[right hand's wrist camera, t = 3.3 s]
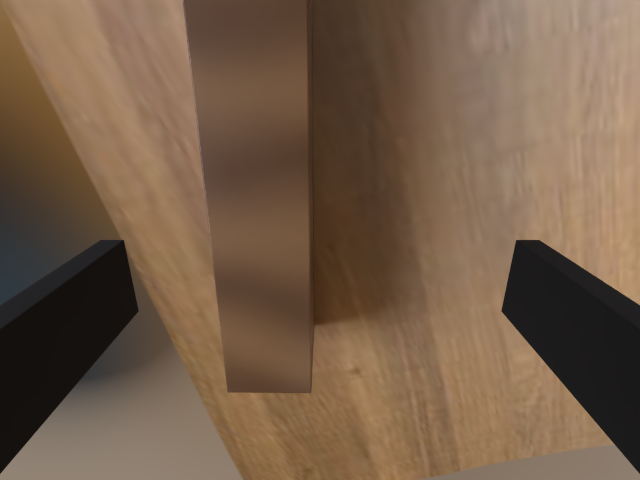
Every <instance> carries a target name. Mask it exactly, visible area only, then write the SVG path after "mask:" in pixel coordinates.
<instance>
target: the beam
mask: <svg viewBox="0 0 640 480" xmlns="http://www.w3.org/2000/svg"><path fill="white" fill-rule="evenodd" d="M183 6H184V15H185V23H186V32H187V41H188V50H189V58H190V67H191V76H192V84H193V93H194V102H195V111H196V119H197V128H198V137H199V146H200V154H201V163H202V172H203V181H204V189H205V198H206V207H207V216H208V224H209V233H210V242H211V251H212V259H213V268H214V277H215V286H216V294H217V303H218V312H219V321H220V329H221V338H222V347H223V356H224V364H225V373H226V382H227V391H228V392H250V393H311V387H312V364H313V341H314V204H313V17H312V0H183Z"/></svg>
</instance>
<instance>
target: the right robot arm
mask: <svg viewBox="0 0 640 480" xmlns="http://www.w3.org/2000/svg"><path fill="white" fill-rule="evenodd" d="M137 312H138V306H137V301H136V297H135V292H134V287H133V282H132V277H131V273H130V268H129V263H128V258H127V253H126V249H125V244H124V240H100V241H99V242H97V243H96V244H94V245H93V246H91V247H90V248H88V249H86V250H85V251H83V252H82V253H80V254H79V255H77V256H76V257H74V258H73V259H71V260H69V261H68V262H66V263H65V264H63V265H62V266H60V267H59V268H57V269H56V270H54V271H52V272H51V273H49V274H48V275H46V276H45V277H43V278H42V279H40V280H39V281H37V282H36V283H34V284H32V285H31V286H29V287H28V288H26V289H25V290H23V291H22V292H20V293H19V294H17V295H15V296H14V297H12V298H11V299H9V300H8V301H6V302H5V303H3V304H2V305H0V473H1V472H2V471H3V470H4V469H5V467H6V466H7V465H8V464H9V463H10V462H11V460H12V459H13V458H14V457H15V456H16V455H17V453H18V452H19V451H20V450H21V449H22V448H23V446H24V445H25V444H26V443H27V442H28V440H29V439H30V438H31V437H32V436H33V435H34V433H35V432H36V431H37V430H38V429H39V428H40V426H41V425H42V424H43V423H44V422H45V421H46V419H47V418H48V417H49V416H50V415H51V413H52V412H53V411H54V410H55V409H56V408H57V406H58V405H59V404H60V403H61V402H62V401H63V399H64V398H65V397H66V396H67V395H68V393H69V392H70V391H71V390H72V389H73V388H74V386H75V385H76V384H77V383H78V382H79V380H80V379H81V378H82V377H83V376H84V375H85V374H86V372H87V371H88V370H89V369H90V368H91V366H92V365H93V364H94V363H95V362H96V361H97V359H98V358H99V357H100V356H101V355H102V354H103V352H104V351H105V350H106V349H107V348H108V346H109V345H110V344H111V343H112V342H113V341H114V339H115V338H116V337H117V336H118V335H119V334H120V332H121V331H122V330H123V329H124V328H125V326H126V325H127V324H128V323H129V322H130V321H131V319H132V318H133V317H134V316H135V315H136V314H137ZM502 312H503V314H504V315H505V316H506V317H507V318H508V319H509V321H510V322H511V323H512V324H513V325H514V326H515V328H516V329H517V330H518V331H519V332H520V334H521V335H522V336H523V337H524V338H525V339H526V341H527V342H528V343H529V344H530V345H531V346H532V348H533V349H534V350H535V351H536V352H537V354H538V355H539V356H540V357H541V358H542V359H543V361H544V362H545V363H546V364H547V365H548V366H549V368H550V369H551V370H552V371H553V372H554V374H555V375H556V376H557V377H558V378H559V379H560V381H561V382H562V383H563V384H564V385H565V386H566V388H567V389H568V390H569V391H570V392H571V393H572V395H573V396H574V397H575V398H576V399H577V401H578V402H579V403H580V404H581V405H582V406H583V408H584V409H585V410H586V411H587V412H588V413H589V415H590V416H591V417H592V418H593V419H594V421H595V422H596V423H597V424H598V425H599V426H600V428H601V429H602V430H603V431H604V432H605V433H606V435H607V436H608V437H609V438H610V439H611V440H612V442H613V443H614V444H615V445H616V446H617V448H618V449H619V450H620V451H621V452H622V453H623V455H624V456H625V457H626V458H627V459H628V460H629V462H630V463H631V464H632V465H633V466H634V468H635V469H636V470H637V471H638V472H639V473H640V305H638V304H637V303H635V302H634V301H632V300H631V299H629V298H628V297H626V296H625V295H623V294H621V293H620V292H618V291H617V290H615V289H614V288H612V287H611V286H609V285H608V284H606V283H605V282H603V281H601V280H600V279H598V278H597V277H595V276H594V275H592V274H591V273H589V272H588V271H586V270H584V269H583V268H581V267H580V266H578V265H577V264H575V263H574V262H572V261H571V260H569V259H568V258H566V257H564V256H563V255H561V254H560V253H558V252H557V251H555V250H554V249H552V248H551V247H549V246H547V245H546V244H544V243H543V242H541V241H540V240H516V244H515V249H514V253H513V258H512V263H511V268H510V273H509V277H508V282H507V287H506V292H505V297H504V301H503V306H502Z"/></svg>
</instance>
